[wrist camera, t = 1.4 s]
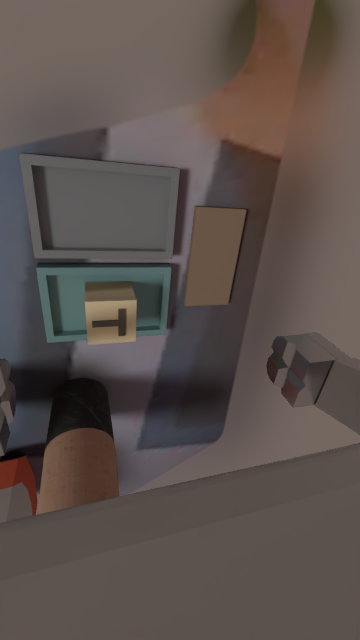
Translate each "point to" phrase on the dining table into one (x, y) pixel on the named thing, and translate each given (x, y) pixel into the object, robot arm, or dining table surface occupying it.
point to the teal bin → (69, 281)
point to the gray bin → (99, 208)
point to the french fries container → (17, 489)
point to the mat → (213, 254)
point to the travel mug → (78, 448)
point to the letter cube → (110, 312)
